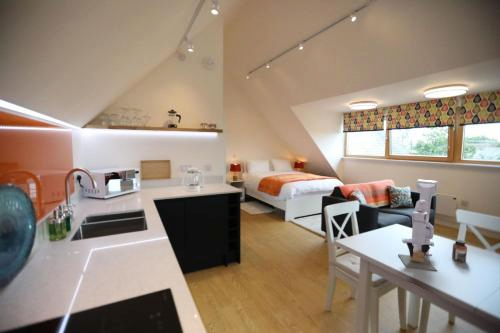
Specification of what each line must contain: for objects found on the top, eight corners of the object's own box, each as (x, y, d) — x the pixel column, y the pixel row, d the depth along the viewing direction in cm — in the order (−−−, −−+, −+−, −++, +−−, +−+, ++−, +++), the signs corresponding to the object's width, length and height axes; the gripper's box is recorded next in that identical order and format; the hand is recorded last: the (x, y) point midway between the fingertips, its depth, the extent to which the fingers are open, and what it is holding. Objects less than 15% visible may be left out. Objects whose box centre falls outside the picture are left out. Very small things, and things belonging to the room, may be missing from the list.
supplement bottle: (451, 256, 137) (453, 238, 136) (465, 259, 133) (467, 240, 132) (451, 260, 132) (453, 241, 131) (466, 264, 128) (468, 244, 127)
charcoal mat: (398, 255, 139) (398, 254, 139) (425, 258, 135) (425, 257, 135) (406, 267, 126) (406, 266, 126) (437, 271, 122) (437, 270, 121)
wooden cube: (409, 256, 133) (410, 248, 132) (420, 257, 132) (420, 249, 131) (413, 260, 128) (413, 252, 128) (423, 262, 127) (424, 253, 126)
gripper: (405, 234, 127) (404, 258, 128) (437, 237, 122) (435, 262, 124) (401, 229, 133) (400, 252, 135) (431, 232, 129) (429, 255, 131)
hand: (416, 256), depth 130 cm, fingers closed on wooden cube, 5 cm apart
